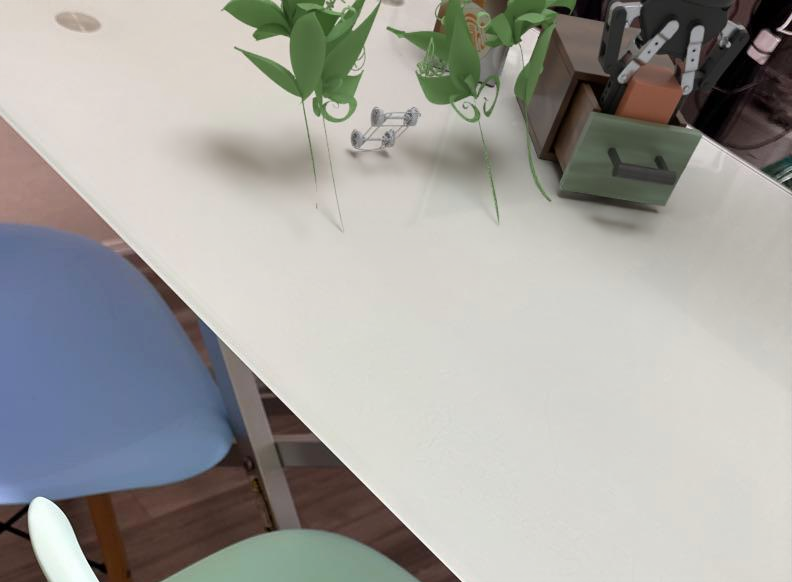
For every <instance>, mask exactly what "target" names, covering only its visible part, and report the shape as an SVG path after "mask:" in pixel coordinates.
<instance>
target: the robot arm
mask: <svg viewBox="0 0 792 582" xmlns="http://www.w3.org/2000/svg"><path fill="white" fill-rule="evenodd" d="M735 2H736V0H639V1H632V2H631V1H630V2H622V1H621V0H610V1H609V2H608V4H607V7H606V13H605V18H604V22H605V23H604V28H603V34H602V39H601V44H600V49H599V55H598V61H599V63H600V65H601V67H602V69H603V71H604V72H605V73H606V74H609V75H610V78H609V80H608V82H607V84H606V87H605V89H604V91H603V93H602V96H601V98H600V100H599V106H600V108H601V113H604V114H609V115H614V114H615V112H616V110H617V108H618V106H619V103H620V101H621V99H622V97H623V95H624V93H625V90H626V88H627V86H628V85H627V82H628V81H629V80H630V79H631V78H632V76H633V75H634V74H635V73H636V72H637V71H638V69H639V68H640V67H641V66H643V65H646V64H647V63H648V62H649V60H650V59H651V58H652V57H653V56H654V55H655V54H657V55H664V54H668V56H671V57H673V58H674V61H675V62H674V63H675V64H674V66H675V70H674V76H675V77H676V79H677V81H678V82H679V84H680V86H681V87H682V89H683V91H684V92H683V94H682V96H681V98H680V100H679V102H678V104H677V106H676V108H675V110H674V112H673V114H672V116H671V118H670V120H669V122H668V124H670V123H671V122H672V121H673V120H674V118H675V116H676V114H677V112H678V110H679V108H680V106H681V104H682V102H683V101H684V99H685V97H686V95H687V94H689V95H690V93H691V92H695V91H696V92H697V91H701V92H703V93H706V92H708V91H710V90H711V89H712V88H713V86H714V85H716V83H717V82H718V81H719V79H720V78H721V77H722V76H723V74H724V73H725V72H726V70H727V69H728V68H729V67H730V65H732V62H733V61H734V60H735V59H736V58H737V56H739V54H740V53H741V51H742V50H743V49H744V47H745V46H746V45H747V44H748V43H749V41H750V37H751V36H750V33H749V32H748V30H747V29H746V27H745V26H744V25H742V23H741V22H739V21H735V22H734V21H731V20H729V11H730V8H731V7H732V5H733V4H734V3H735ZM635 18H638V22H639V28H638V29H639V30H638V32H637V33H636V34H635V35H634V36H633V38H632V39H631V40H630V41H629V43H628V45H627V48H626V50H625V51H624V52H623V53H622V54H621V56H620V57H619V52H620V47H621V42H622V37H623V32H624V30H625V29H628V28H629V27H631V25H632V22H633V21H634V19H635ZM716 36H717V38H716V43H715V45H714V46H713V47H712V49H711V50H710V51H709V53H708V54H707V55H706V57H705V58H704V59H703V60H702V62H701V63H700V56H701V50H702V47H703V46H704V45H706V44H707V43H708V42H709V41H711V40H712V39H714V38H715V37H716ZM644 44H645V45H644ZM618 57H619V58H618ZM699 63H700V65H699Z"/></svg>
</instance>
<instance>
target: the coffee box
mask: <svg viewBox="0 0 792 582" xmlns="http://www.w3.org/2000/svg"><path fill="white" fill-rule="evenodd" d="M459 1H460V5H461V6H462V5H463V0H459ZM469 1H470V0H469ZM469 1H468V2H469ZM508 1H509V0H472V2H471V3H470V4H468V3H466V4H465V6H464V9H463V12H464V13H463V14H464V17H465V20H466V22H467V25H468V28H469V31H470V35H471V39H472V43H473V45H474V47H475V49H476V50H477V53H478V55H479V59H480V66H481V72H480V78H479V82H480V83H481V84H482V83H483V82H484V81H485V79H486V78H487V77H489V76H490V75H497V76H498V77H499V78H500V77H501V75H502V73H503V71H504V69H505V64H506V61H507V58H508V54H509V51H510V49H511V47H507V46H506V45H500V46H497V47H495V48H492V47H489V46H487V45H485V42H486V41H487V39H488V38H489V37H490V36H491V35H492V34H487V33H484V32H485V29H486V28H483V29H481V28H479V27H478V26H477V18H478V17H477V14H478V13H480V12H484V11H485V12H486V13H488V14H489V15H490V22H489V24H490V23H491V21H492V20H493V19H494V18H495V17H496V16H498V15H499V14H501V13H503V14H504V12H505V10H506V9H507V3H508ZM441 2H442V1H441V0H440V3H441ZM448 3H449V0H446V1H445V2H443V3H442V4H441V5H440V6H439V7H438V12H437V14H436V15H437V17H438V18H440V19H442V18H443V17H444V16H445V14H446V10H447V6H448ZM486 16H487V15H484V16H482V17H480V18H479V21H478V23H479V25H480V26H482V27H483V26H485V25H486V24H487V22H488V18H486ZM443 20H445V18H444V19H443ZM443 23H444V22H443ZM432 31H433V32H438V33H441V34H444V35H445V29H444V25H442V23H441V21H439V20H438V19H437V18H435V23H434V25H433V30H432ZM429 55H430V53H429V54H428V59H429ZM426 56H427V55H426ZM431 56H432V54H431ZM431 56H430V58H431ZM437 58H438V57H437ZM433 59H434V60H435V62H436V63H437V61H436V60H437V59H436V58H435V57H434V56H433ZM433 59H431V61H430V62H429V61H428V60H427V63H428V64H429V65H430V64H433V67H436V68H438V67H437V66H436V64H435V63H434V61H433ZM438 59H440V58H438ZM425 61H426V57H425V60H424V63H425ZM442 61H443V60H442V59H440V62H442ZM444 64H445V62H444ZM444 64H443V66H444ZM437 65H438V63H437ZM441 65H442V63H441ZM439 69H441V66H440V67H439ZM444 69H445V68H444ZM444 69H443V70H444ZM445 71H447V72H449V65H447V68H446V70H445ZM485 85H488V86H491V87H494V86H496V82H495V80H493V79H491V80H489V81H488V82H487V83H486V84H485Z"/></svg>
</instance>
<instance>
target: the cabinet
mask: <svg viewBox="0 0 792 582" xmlns="http://www.w3.org/2000/svg"><path fill="white" fill-rule="evenodd" d="M556 21H558V23H557V25H556V26H555V28H554V29H553V31H552V35H551V38H550V42H549V46H548V49H547V53H546V56H545V59H544V62H543V71H542V73H541V74H540V75H539V78H538V81H537V84H536V87H535V90H534V92H533V95H532V97H531V99H530V102H529V104H528V106H527V120H528V133H529V136H530V138H531V141H532V143H533V146H534V149H535V152H536V154H537V155H536V156H537V157H538V159H541V160H545V161H553V162H558V163H559V160H558V158H557V155H556V152H555V150H554V147H553V145H552V142H553V140H554V138H555V135H556V133H557V130H558V128H559V126H560V123H561V121H562V118H563V116H564V114H565V111H566V109H567V107H568V104H569V102H570V99H571V97H572V95H573V92H574V90H575V87H576V85H577V83H578V80H579V79H580V80H586V81H591V82H597V83H602V84H607V82H608V80H609V78H610V75H609V74H606V73H605V72H604V71H603V69H602V67H601V65H600V63H599V61H598V55H599V49H600V44H601V39H602V34H603V28H604V23H605V21H600V20H595V19H590V18H584V17H579V16H574V15H569V14H563V13H558V16H557V17H556V18H555V19H554V20H553V21H552V23H551V24H550V23H549V25H548V27H549V26H551V25H552V24H553V23H555V22H556ZM639 29H640V28H637V27H632V26H629V28H628V29H625V30H624V32H623V37H622V42H621V47H620V52H619V57H620V56H621V54H622V53H623V52H624V51H625V50H626V48H627V45H628V43H629V41H630V40H631V39H632V38H633V36H634V35H635V34H636V33H637V32H638V30H639ZM544 31H545V29H544V28H543V27H542V26H541V28H540V31H539V34H538V37H537V38H536V42H535V45H534V48H533V51H532V52H531V56H530V58H529V61H531V60H532V56H533V53H534V50H535V47H536V44H537V42H538V40H539V38H540V36H541V35H542V33H543V32H544ZM644 45H645V44H644ZM619 57H618V58H619ZM529 61H528V62H529ZM647 64H649V65H655V66H660V67H665V68H670V69H671V71H672V73H673V74H674V70H675V64H674V62H673V61H672V59H671V57H670V55H669V54H664V55H657V54H655V55H654V56H653V57H652V58H651V59H650V60H649V62H648V63H647ZM689 95H690V93H689V94H687V95H686V97H685V99H684V101H683V102H682V104H681V106H680V108H679V111H680V112H681V111H682V108H683V107H684V104H685V102H686V101H687V98H688V96H689ZM515 96H516V95H515ZM516 99H517V102H518V105H519V107H520V110H521V113H522V116H523V118H524V121H525V123H526V108H525V100H522V99H520V98H519V97H517V96H516Z"/></svg>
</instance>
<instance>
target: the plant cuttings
mask: <svg viewBox="0 0 792 582" xmlns="http://www.w3.org/2000/svg"><path fill="white" fill-rule="evenodd" d="M280 1H281V2H280V6H279V5H278V4H277V3H275V2H274V1H273V0H229V1H228V2H227V3H226V4H225V5H224V6H223V7H222V9H220V12H224V11H225V12H227V13H228V14H230V15H231V16H232V17H234V18H235V19H236V20H238V21H239V22H241V23H242V24H244V25H247V26H249V27H252V28H255V29H256V30H255V31H254V32H253V33H252V37H253V39H255V42H259V41H262V40H265V39H270V38H274V37H278V36H284V37H287V38H288V39H289V59H290V65H291V69H292V72H293V73H292V72H291V71H290V70H289V69H288V68H287V67H284V66H283V65H282V64H280V63H278V62H276V61H274V60H273V59H271V58H267V57H265V56H262V55H259V54H256V53H254V52H250V51H247V50H245V49H241V48H240V47H238V46H234V47H233V48H234V50H237V51H238V52H241V53H242V54H243V55H244V56H245V58H247V59H248V60H249V61H250V62H251V64H253V65H254V66H255V67H256V68H257V69H258V70H260V71H261V72H262V73H263V74H264V75H265V76H266V77H267V78H269V79H270V80H271V81H272V82H273V83H275V84H276V85H278V87H280V88H281V89H283V90H284V91H286V92H287V93H289V94H292V95H294V96H295V97H299V98H300V99H301V101H300V103H299V105H300V104H302V109H303V110H302V111H303V115H304V116H303V117H304V121H305V127H306V132H307V133H306V134H307V139H308V145H309V150H310V156H311V162H312V168H313V174H314V180H315V181H314V182H317V176H316V167H315V159H314V153H313V147H312V143H311V136H310V131H309V126H308V120H307V115H306V109H305V103H304V102H305V101H306V100H307V99H308V98H309V97H310V96H311V95H312V94H313V93H314V94H315V97H313V98H311V100H312V110H313V113H314V114H315V116H316V117H318V118H320V117H322V120H323V127H324V133H325V140H326V145H327V149H328V150H327V151H328V158H329V162H330V171H331V175H332V181H333V187H334V188H336V185H335V179H334V174H333V167H332V162H331V156H330V155H331V154H330V148H329V142H328V136H327V130H326V122H325V120H326V121H328V122H330V123H343V122H345V121H347V120H348V119H350V118H351V117H352V116H353V114H354V113H355V111H356V110H357V107H358V101H357V99H356V97H355V95H356V92H357V90H358V87H359V83H360V81H361V78H362V76H363V74H364V72H365V70H364V69H362V68H363V67H364V65H365V63H366V47H365V44H366V41H367V39H368V37H369V34H370V32H371V30H372V27H373V25H374V23H375V20H376V18H377V15H378V12H379V9H380V7H381V4H382V0H380V1H379V2H378V4H377V5H376V6H375V7H374V9H373V10H372V12H370V14H368V16H367V17H365V19H364V20H363V21H362V22H361V23H360V24H359V25H358V26H357V27H356V28H354V26H355V25H356V23H357V21H358V19H359V17H360V15H361V13H362V9H363V8H364V4H365V2H366V0H355V1H354V2H353V4H352V5H347V6H345V7H343V8H342V11H341V12H339V11H335V10H333V9H334V8H335V3H336V1H337V0H280ZM340 1H341V3H343V4H346V1H345V0H340ZM441 1H442V2H441ZM445 1H446V0H440V2H439V4H437V6H436V8H435V10H434V17H435V19H438V20H439V21H441V23H442V25H444V29H445V35H444V34H441V33H438V32H433V30H418V31H409V32H406V31H405V30H400V29H396V28H393V27H391V26H386V28H385V29H386V30H387V31H389V32H391V33H393V34H394V35H395V36H396V37H397V38H398V39H406V40H407V41H408V42H410V43H411V44H412V45H414V46H416V47H418V48H419V49H421V50H422V51H424V52H425V53H424V56H423V59H422V61H419V62H417V63H416V67H417V68H418V69H419V72H418V71H417V70H414V72H415V76H416V78H417V80H418V82H419V85H420V89H421V90H422V92H423V94H424V97H425V98H426V99H427V100H428V102H429V103H430V104H434V105H439V106H443V105H445V106H446V105H450V106H451V107H452V108H453V110H454V111H455V112H456V113H457V115H458V116H459V117H461V118H462V119H463V120H464V121H466V122H468V123H473V124H474V123H477V122H478V125H479V129H480V134H481V135H480V136H481V140H482V145H483V150H484V155H485V160H486V165H487V171H488V176H489V180H490V187H491V192H492V197H493V201H494V208H495V212H496V217H497V222H498V224H500V214H499V206H498V200H497V194H496V189H495V184H494V179H493V175H492V169H491V165H490V161H489V156H488V152H487V147H486V144H485V139H484V134H483V130H482V127H481V123H480V119H481V112H480V110H479V108H478V107H477V106H476V103H474V104H473V103H471V102H469V101H463V103H462V109H464V110H467V109H468V108H469V105H470V106H471V107H472V109H473V112H474V116H473V117H472V118H468V117H466V116H465V115H464V114H463V113H462V112H461V111H460V110H459V109H458V108H457V107H456V104H455V103H457V102H460V101H462V100H465V99H467V98H469V97H473V98H474V99H473V102H476V100H478V98H479V97H480V94H481V93H482V91H483V89H484V88H485V86H486V85H487V84H486V83H487V82H488V81H489V80H491V79H493V80H495V82H496V84H495V86H496V92H495V97H494V100H493V102H492V105H491V106H490V108H489V109H488V110H486V104H487V102H489V99H487V96H486V97H485V96H484V97H483V99H484V102H483V106H482V111H483V114H484V116H485V117H486V118H489V117H490V116H491V115H492V113H493V111H494V108H495V106H496V103H497V100H498V96H499V92H500V88H501V80H500V79H501V78H500V77H498V76H497V75H490V76H489V77H487V78H486V79H485V81H484V82H483V83H482V82H481V85H480V87H479V88H478V85H479V82H480V81H479V78H480V72H481V66H480V59H479V55H478V53H477V50H476V49H475V47H474V45H473V43H472V39H471V35H470V31H469V28H468V25H467V22H466V20H465V17H464V14H463V13H464V12H463V9H464V6H465V4H466V3H468V4H470V3H471V2H472V0H470V1H469V0H463V5H462V6H461V5H460V1H459V0H449V3H448V6H447V10H446V14H445V16H444V17H443V18H442V19H440V18H438V17H437V15H438V14H437V10H439V8H440V5H441V4H442V3H443V2H445ZM468 1H469V2H468ZM325 4H326V7H324V6H325ZM576 5H577V0H509V1H508V3H507V9H506V10H505V12H504V14H503V13H501V14H499V15H498V16H496V17H495V18H494V19H493V20H492V21H491V23H490V24H489V22H490V15H489V14H488V13H486V12H485V11H484V12H480V13H478V14H477V17H478V18H477V26H478V27H479V28H481V29H483V28H486V29H485V32H484V33H487V34H492V35H491V36H490V37H489V38H488V39H487V41H486V42H485V45H487V46H489V47H492V48H495V47H497V46H500V45H506V46H507V47H510V48H513V46H517V45H518V46H519V48H520V52H521V60H522V69H521V71H520V72H519V74H518V76H517V78H516V80H515V83H514V87H513V93H514V95H515V96H517V97H519V98H520V99H522V100H525V108H526V122H525V126H526V142H527V144H526V145H527V154H528V155H527V156H528V161H529V166H530V171H531V175H532V178H533V181H534V183H535V186H536V187H537V188H538V190H539V192H540V193H541V195H542V196H543V197H544V199H546V200H547V202H549V203H552V201H553V200H552V199H551V198H550V196H548V194H547V193H546V192H545V190H544V188H543V186H542V184H541V183H540V181H539V178H538V176H537V173H536V170H535V166H534V163H533V157H532V151H531V144H530V133H529V130H528V120H527V106H528V104H529V102H530V99H531V97H532V95H533V92H534V90H535V87H536V84H537V81H538V78H539V75H540V74H541V73H542V71H543V62H544V59H545V56H546V53H547V49H548V46H549V42H550V38H551V35H552V31H553V29H554V28H555V26H556V25H557V23H558V21H556V22H555V23H553V24H552V25H551V26H549V27H548V25H549V23H550V24H551V23H552V21H553V20H554V19H555V18H556V17H557V16H558V14H559V12H557V11H555V10H552V9H549V8H552V7H565V8H567V9H569V10H570V12H569V14H568V15H569V16H571V14H572V13H573V11H574V9H575V7H576ZM484 15H487V16H486V18H488V22H487V24H486V25H485V26H483V27H482V26H480V25H479V23H478V21H479V18H480V17H482V16H484ZM444 18H445V20H443V19H444ZM443 22H444V23H443ZM540 25H541V28H542V27H543V28H544V29H545V31H544V32H543V33H542V35H541V36H540V38H539V40H538V42H537V41H536V42H537V44H536V43H535V44H536V47H535V46H534V47H535V50H534V49H533V50H534V53H533V56H532V60H531V61H528V62H527V63H526V64H525V63H524V55H523V49H522V45H521V43H522V42H523V39H522V38H521V37H522V36H524V35H525V34H526V33H527V32H528V31H529V30H531V29H533V28H536V27H538V26H540ZM353 28H354V30H353ZM362 51H363V53H362ZM361 53H362V55H361ZM429 53H430V55H429V59H428V54H429ZM431 54H432V56H431ZM360 55H361V56H360ZM426 55H427V56H426ZM430 56H431V58H430ZM433 56H434V57H435V58H436V59H437V60H436V61H437V63H438V65H437V63H436V62H435V60H434V59H433ZM359 57H360V58H359ZM425 57H426V61H425ZM437 57H438V58H440V59H442V60H443V61H442V62H440V59H438V58H437ZM362 58H363V62H362V65H361V66H360V67H358V65H357V64H356V62H358V61H360V60H361V59H362ZM431 59H433V61H434V63H435V64H436V66H437V67H436V70H434V66H433V64H430V65H429V64H428V63H427V60H428V61H429V62H430V61H431ZM424 61H425V62H424ZM444 62H445V64H444ZM441 63H442V65H441ZM443 64H444V66H443ZM447 65H449V71H448V72H449V73H448V75H444V74H445V73H446V71H447V70H446V68H447ZM440 66H441V68H439V67H440ZM354 67H355V68H356V69H354ZM444 68H445V69H444ZM361 69H362V70H361ZM360 70H361V72H360V73H358V74H356V75H349V73H350V72H351V71H353V72H357V71H358V72H359V71H360ZM423 74H424V76H423ZM477 88H478V91H477ZM517 97H516V98H517ZM323 99H328V100H327V101H325V102H324V103H323ZM330 102H333V103H336V104H337V106H338V107H337V108H339V107H340V105H347V104H348V106H349V107H348V108H349V109H348V112H347V114H346V115H345V116H344V117H341V118H338V117H337V118H336V117H334V116H332V115H330V114H329V113H328V111H327V105H328V104H329V103H330ZM465 103H468V104H467V106H465ZM332 106H333V107H335V105H334V104H332ZM393 114H403V115H393ZM421 116H422V113H421V112H420V111H419V109H418V108H417V106H413V107H411V108H408V109H406V111H390V112H384V110H383V109H382V108H380V107H379V106H374V107H373V108H372V110H371V113H370V124H371V126H370V127H369V128H368V129H367V130H366V132H365V133H364V134H363V132H362V131H361V130H358V129H357V128H354V129H353V130H352V131H351V133H350V144H351V146H352V148H354V149H355V150H358V151H365V152H366V151H367V152H369V151H378V150H383V149H386V148H393V147H394V146H395V144H396V140H397V139H398V138H400V137H401V135H402V134H404V133H405V131H407V129H408V128H410V127H415V126H416V125H417V123H418V120H419V118H420V117H421ZM387 120H402V121H403V124H384V123H385V122H387ZM373 127H375V129H374V131H372V133H370V135H369V136H368V137H366V135H367V134H368V133H369V132H370V131H371V130H372V129H373ZM381 127H399V128H398V129H397V130H396V131H395V130H394V129H393V128H391V129H389V130H386V131H385V132H384V134H383V135H382V136H381V137H372V136H373V135H374V134H375V133H376V132H377V131H378V130H379V129H380V128H381ZM403 127H405V128H404V129H403V130H402V132H400V133H399V134H398V135H397V136H396V134H397V133H398V132H399V131H400V130H401V129H402V128H403ZM366 142H381V145H380V147H377V148H370V149H369V148H368V149H366V148H365V149H364V148H361V147H362V146H363V145H364V144H365V143H366ZM315 187H316V190H315V191H318V186H317V184H315ZM334 193H335V198H336V202H337V203H336V204H337V209H338V213H339V218H340V222H341V223H343V220H342V216H341V212H340V211H341V210H340V206H339V201H338V196H337V191H336V189H334ZM315 206H316V207H315V208H316V210H317V209H318V204H316V205H315ZM341 226H342V230H343V231H345V229H344V225H343V224H341Z"/></svg>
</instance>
